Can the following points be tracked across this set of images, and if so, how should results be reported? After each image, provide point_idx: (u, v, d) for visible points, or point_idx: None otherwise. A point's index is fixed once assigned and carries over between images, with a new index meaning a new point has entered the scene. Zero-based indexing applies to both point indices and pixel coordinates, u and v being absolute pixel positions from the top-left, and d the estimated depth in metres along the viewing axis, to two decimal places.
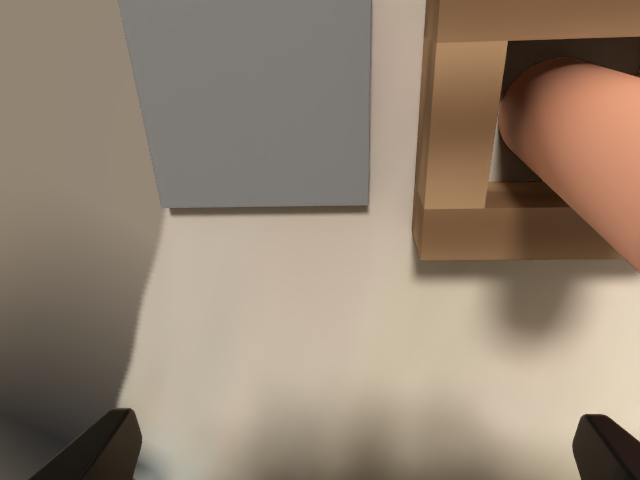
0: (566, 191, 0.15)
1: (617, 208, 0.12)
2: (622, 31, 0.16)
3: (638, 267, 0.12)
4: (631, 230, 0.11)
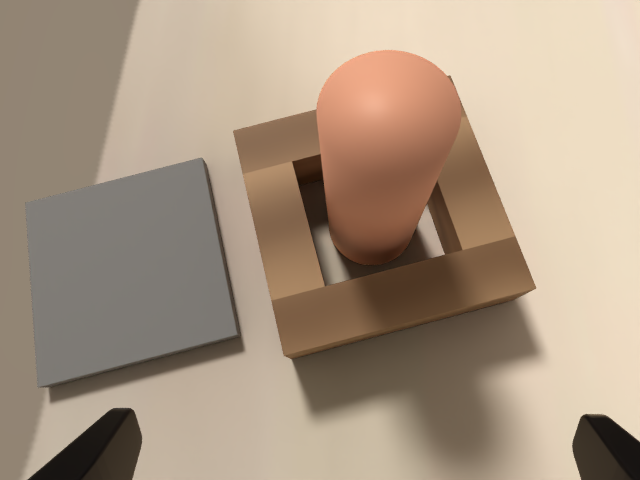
0: (333, 197, 0.18)
1: (320, 142, 0.15)
2: None
3: (343, 161, 0.14)
4: (321, 136, 0.15)
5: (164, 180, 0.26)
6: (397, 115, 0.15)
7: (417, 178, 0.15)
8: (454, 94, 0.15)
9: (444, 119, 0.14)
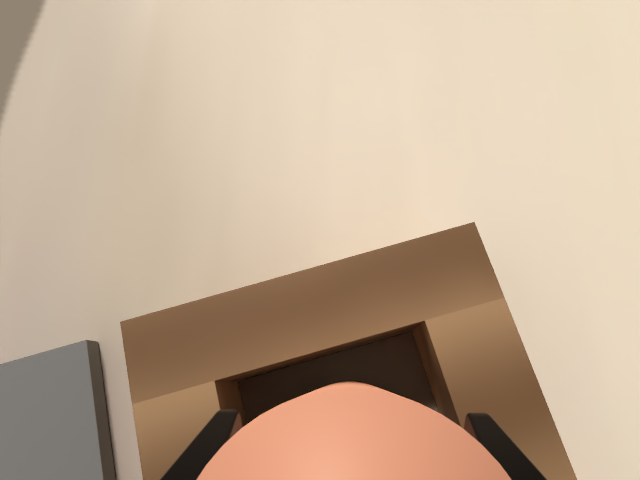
0: None
1: None
2: (338, 338, 0.14)
3: None
4: None
5: (25, 379, 0.16)
6: None
7: None
8: None
9: None
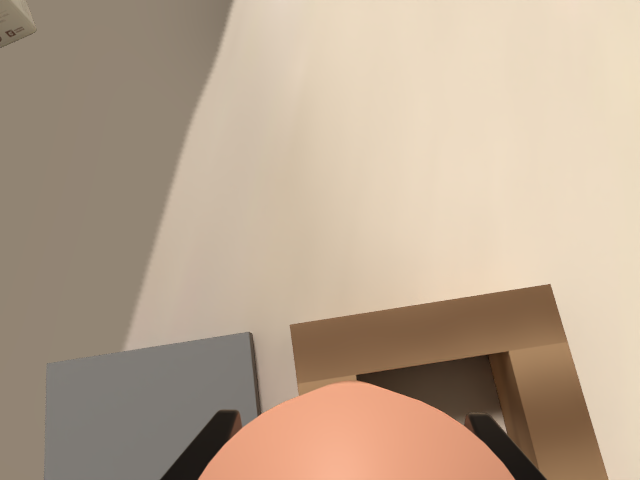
0: None
1: None
2: (445, 356, 0.20)
3: None
4: None
5: (204, 355, 0.23)
6: None
7: None
8: None
9: None
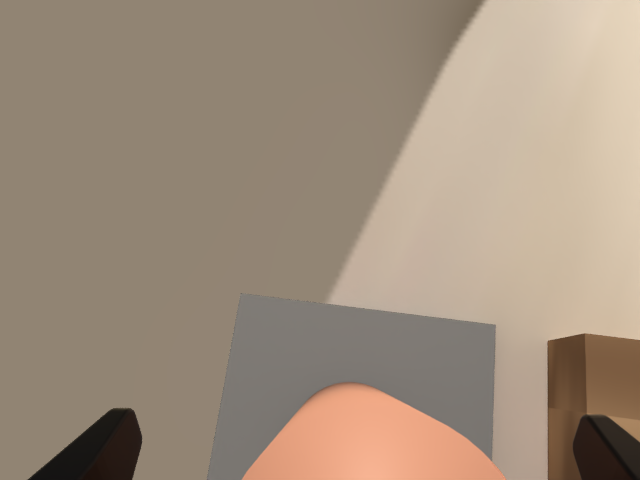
0: None
1: None
2: None
3: None
4: None
5: (434, 337, 0.18)
6: None
7: None
8: None
9: None
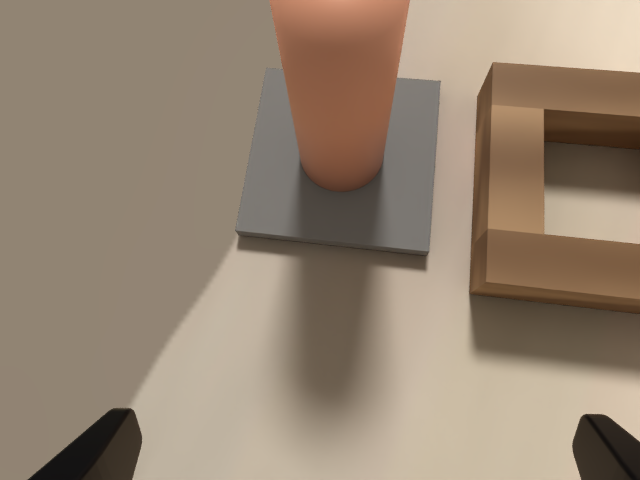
0: (294, 97, 0.18)
1: None
2: (626, 112, 0.23)
3: (294, 35, 0.14)
4: (273, 14, 0.15)
5: (399, 89, 0.26)
6: None
7: (368, 55, 0.15)
8: None
9: None
